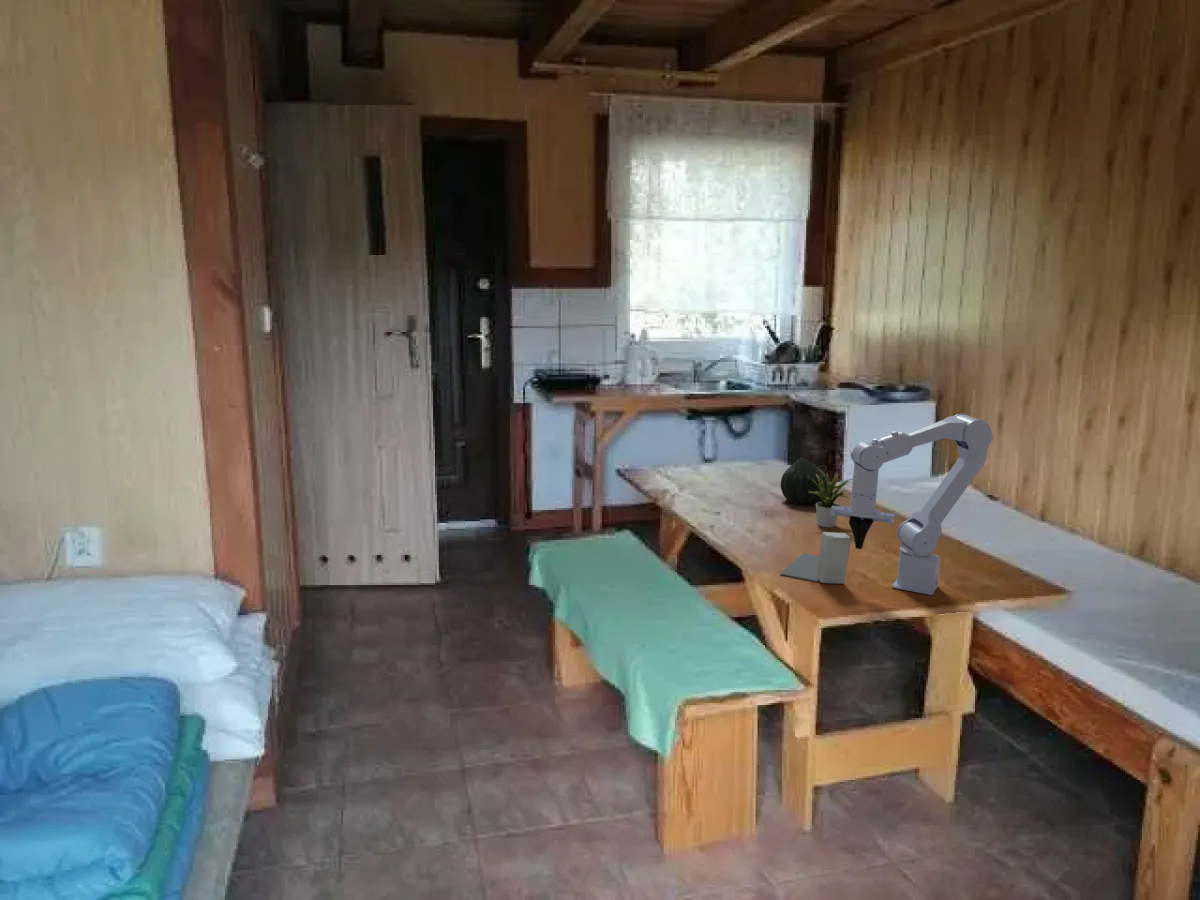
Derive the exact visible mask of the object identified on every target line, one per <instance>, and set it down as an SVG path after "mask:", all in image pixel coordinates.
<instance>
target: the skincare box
mask: <svg viewBox="0 0 1200 900" xmlns="http://www.w3.org/2000/svg"><path fill="white" fill-rule="evenodd" d="M820 540H821V541H820V547H819V555H818V556H819V561H818V569H817V578H818V579H819V581H818V582H819V583H821V584H836V585H837V584H839V585H840V584H842V585H844V584H845V583H846V574H847V568H848V562H849V556H850V548H851V542H852V538H851V537H850V535H848V534H847V533H845V532H833V531H831V532H827V531H823V532H822V534H821V539H820Z"/></svg>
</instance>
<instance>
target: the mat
mask: <svg viewBox="0 0 1200 900" xmlns="http://www.w3.org/2000/svg"><path fill="white" fill-rule="evenodd" d="M818 561H819V555H817V554H816V555H815V554H810V553H804V552H803V553H802V554H801V555H800V556H799V557H797V558H796V559H795V560H794V561H793V562H792V563H790V564H789V566H787V567H786V568H785V569H784V570H782V571H781V572H780V574H781V575H780V574H779V575H780V576H782V575H785V576H784V577H787V576H789V578H794V579H798V580H802V581H808V580H809V581H808V582H814V583H819V582H820V581H819V579H818V578H817V569H818Z"/></svg>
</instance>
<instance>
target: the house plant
mask: <svg viewBox="0 0 1200 900" xmlns="http://www.w3.org/2000/svg"><path fill="white" fill-rule="evenodd" d="M837 473H838V472H835V474H834V477H833V479H832V480H831V479H830V477H829V474H828V471H827V470H826V477H827V479H826V480H827V494H826V491H825V487H824V483H823V481H822V479H821V478H820V477H819V476H818V475H817V474H816V476H817V479H818V482H819V485H818V484H817V483H816V482H815V481H814V480H813V479H812V480H813V481H814V483H815V484H816V485H817V487H818V488H819V490H820V492H818V491H815V492H813V491H810V492H808V493H814V494H816V495H818V496H819V497H820V499H821V502H818V503H816V505H815V512H816V523H817V526H819V527H821V526H822V528H835V527H836V524H837V520H838V516H837V515H835V516H832V515H830V514H831V507H832V506H838V507H841V505H840V504H838V503H837V501H836V500H837V498H839V497H841V498H846V499H849V496H847V494H845V492H847V491H849V489H848V490H847V489H846V490H843V491H840V490H841V489H842V488H845V486H848V485H849V483H850V481H853V478H850V479H847V480H845V481H843V482H842V483H840V484H839V485H837V483H838V478H839V474H837ZM819 486H820V487H819ZM841 498H839V499H838V501H839V500H841ZM835 501H836V502H835ZM834 526H835V527H834Z"/></svg>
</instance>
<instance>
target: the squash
mask: <svg viewBox="0 0 1200 900" xmlns="http://www.w3.org/2000/svg"><path fill="white" fill-rule="evenodd" d="M816 474H817V475H818V476H819V477H820V478H821V479H822V481H823V483H824V487H825V491H826V494H827V480H826V479H827V474H826V473H825V472H824V471H823V470H822V469H821V468H820V467H818V466H817V465H816V464H815V463H813V462H811V461H810V460H809V459H806V458H805V457H800V458H798V459H796V461H795V462H794V463H792V464H791V465H790V466H789V467H788V468H787V469H786V470H785V471H784V473H783V474H782V476H781V479H780V489H781V493H782V495H783V496H784V498H785V499H786V500H787V501H789V502H791V503H792V504H794V505H795V504H796V505H797V504H801V503H802V504H804V503H806V502H807V503H809V504H811V505H813V504H814V505H815V506H816V503H818V502H821V499H820V497H819V496H818V495H816V494H814V493H808V492H810V491H813V492H815V491H818V492H820V490H819V488H818V487H817V485H816V484H815V483H814V481H815V482H816V483H817V484H818V485H819V482H818V479H817V476H816ZM812 479H813V480H814V481H813V480H812ZM819 487H820V486H819ZM814 505H813V506H814Z"/></svg>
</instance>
